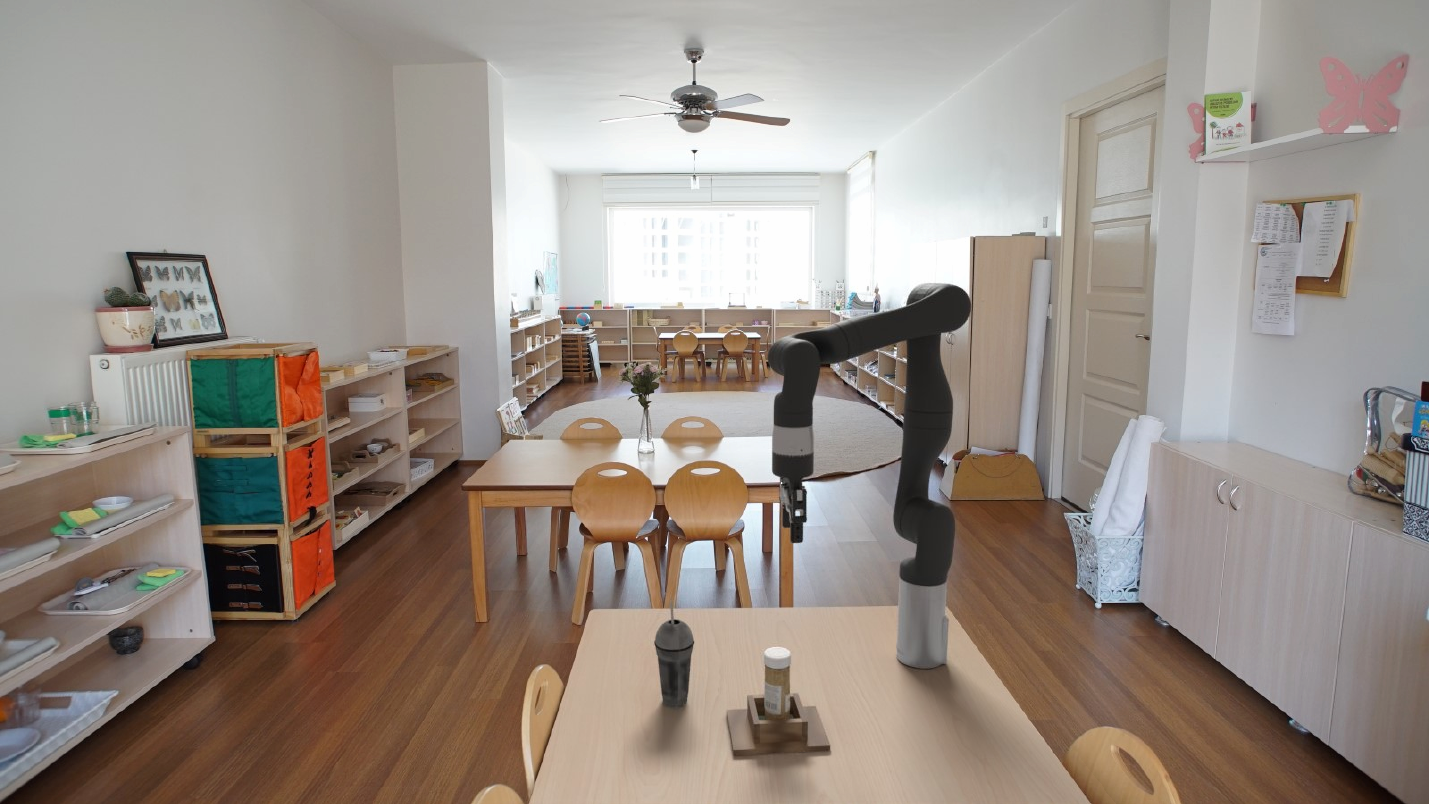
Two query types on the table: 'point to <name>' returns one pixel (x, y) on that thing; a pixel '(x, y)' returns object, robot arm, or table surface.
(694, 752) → the table surface
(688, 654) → the beverage cup
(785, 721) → the wooden square holder
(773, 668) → the sprinkles bottle
